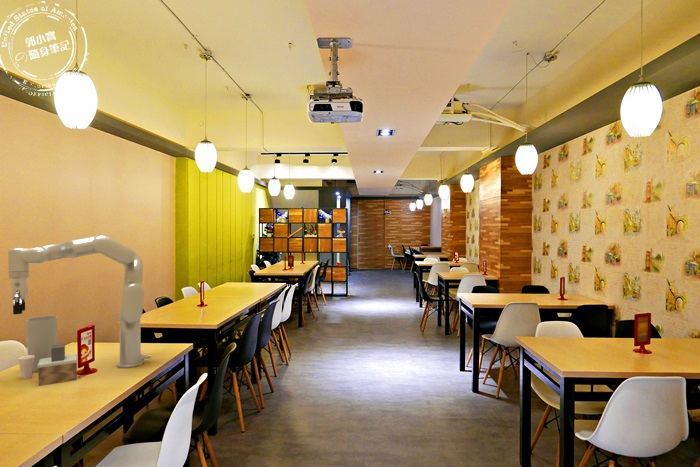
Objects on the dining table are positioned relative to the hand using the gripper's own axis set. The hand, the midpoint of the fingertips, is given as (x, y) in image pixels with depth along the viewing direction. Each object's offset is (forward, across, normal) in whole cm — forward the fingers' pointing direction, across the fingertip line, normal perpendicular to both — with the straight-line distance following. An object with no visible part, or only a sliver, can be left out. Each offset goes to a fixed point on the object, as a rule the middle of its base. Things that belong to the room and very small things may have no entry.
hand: (19, 312), depth 196 cm
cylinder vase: (+31, +17, -7) cm, 36 cm away
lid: (+24, -7, -15) cm, 29 cm away
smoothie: (+31, +4, -2) cm, 32 cm away
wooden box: (+31, -8, -15) cm, 35 cm away
